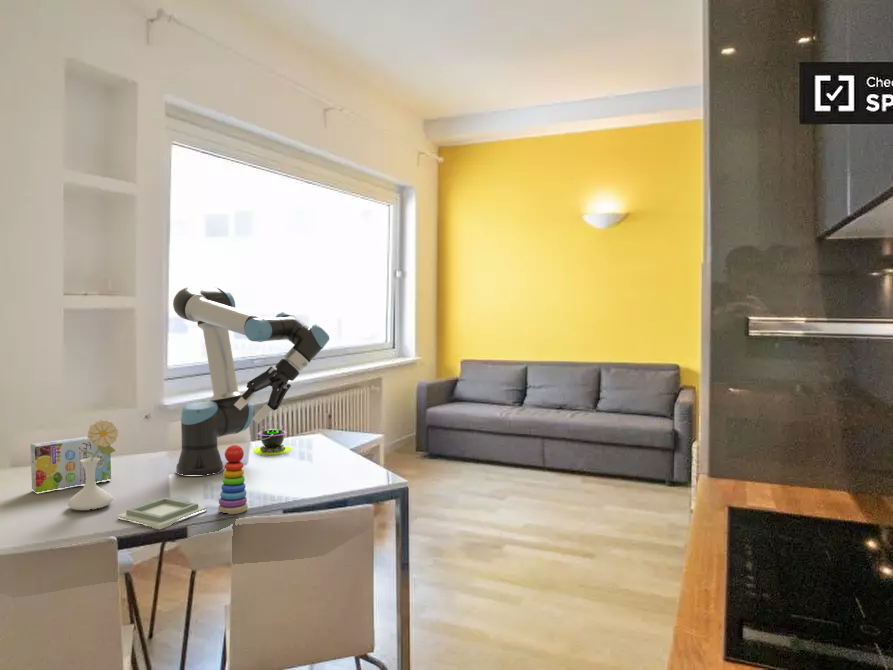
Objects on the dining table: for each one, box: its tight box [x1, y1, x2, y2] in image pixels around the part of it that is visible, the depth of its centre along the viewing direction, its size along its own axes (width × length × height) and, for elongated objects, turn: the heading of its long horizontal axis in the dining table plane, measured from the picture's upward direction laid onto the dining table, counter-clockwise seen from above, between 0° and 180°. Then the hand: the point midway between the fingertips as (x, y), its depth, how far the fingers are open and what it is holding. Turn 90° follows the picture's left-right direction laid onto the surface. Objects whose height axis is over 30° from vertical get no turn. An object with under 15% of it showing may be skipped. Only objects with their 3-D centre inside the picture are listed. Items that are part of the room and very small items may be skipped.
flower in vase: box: [67, 419, 119, 511], centre depth 185 cm, size 13×11×25 cm
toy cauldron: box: [252, 421, 293, 456], centre depth 256 cm, size 15×15×11 cm
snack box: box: [30, 436, 112, 492], centre depth 204 cm, size 21×6×15 cm, turn 134°
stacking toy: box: [217, 444, 249, 515], centre depth 183 cm, size 8×8×19 cm
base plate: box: [117, 496, 207, 530], centre depth 179 cm, size 16×16×2 cm
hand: (246, 414), depth 208 cm, fingers open, 13 cm apart
